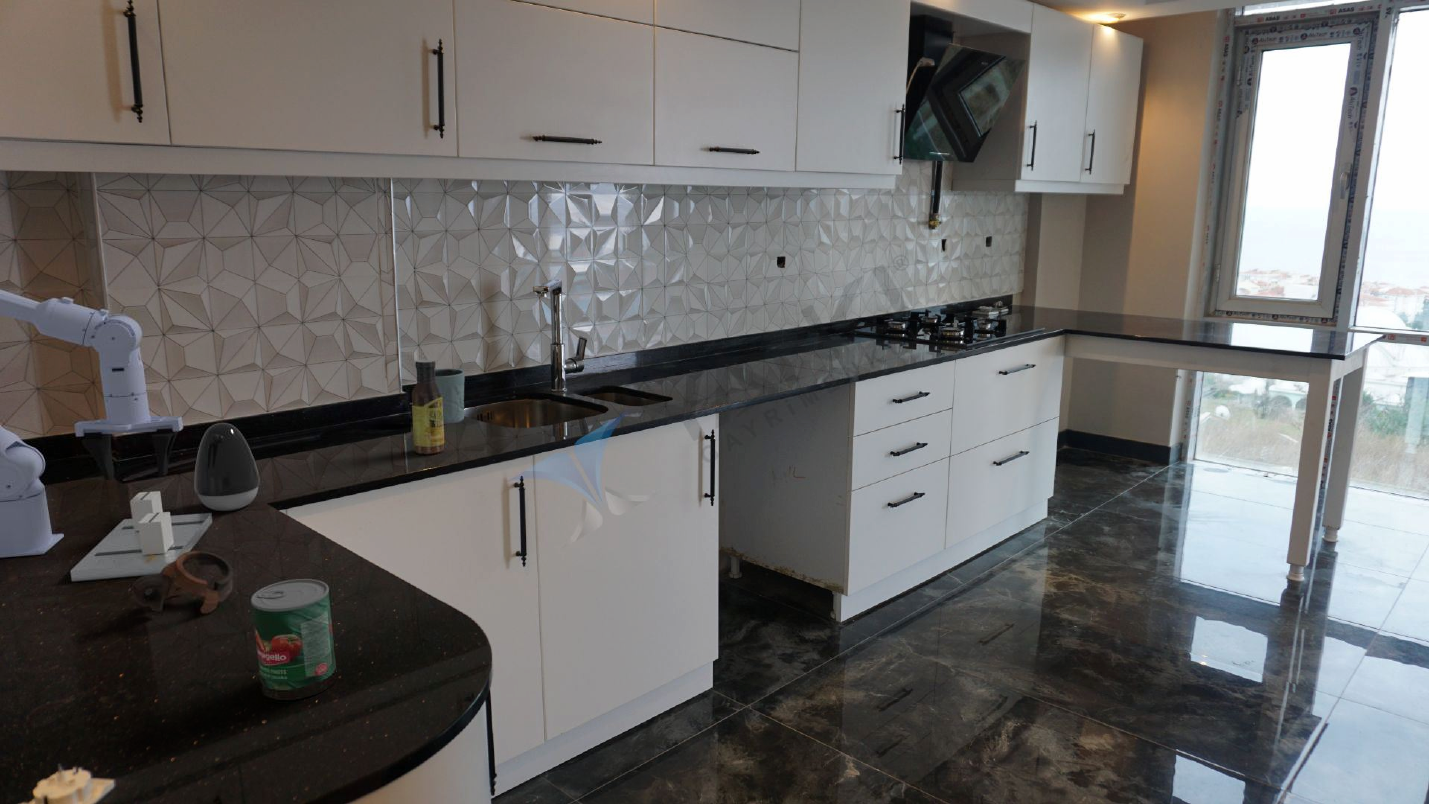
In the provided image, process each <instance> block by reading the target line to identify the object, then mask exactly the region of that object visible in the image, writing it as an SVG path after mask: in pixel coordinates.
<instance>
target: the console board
mask: <svg viewBox="0 0 1429 804" xmlns="http://www.w3.org/2000/svg"><path fill="white" fill-rule="evenodd" d="M170 518H171V525H172V533H173V541H174V543H173V544H172V546H171V547H170V548H169V549H168V550H167V552H166V553H163V554H151V555H142V548H141V541H140V534H139V531H134V526H133V519H132V518H124V519H123V520H122V521H121V522H120V523H119V524H118V525H116V526H115V528H113V529H112V530H111V531H110V532H109V533H108V534H107V535H106V536H105V537H104V538H103V539H102V540H101V541H100V542H99V543H98V544H97V545H96V546H95V547H93V548H92V550H90V552H88V553H87V554H86V555H85V556H84V557H83V558H82V559H81V560H79V562H78V563H77V564H76V565H75V566H74V567H73V568H72V569H71V570H70V577H71V578H70V579H71V582H79V581H81V582H83V581H92V580H103V579H104V580H105V579H114V578H115V579H116V578H127V577H139V576H140V577H141V576H146V575H158V574H159V573H160V572H161V571H162V569H163V568H164V567H166V566H167V565H168V564H170V563H171V562H173V561H176V560H177V558H178V557H179V556H180V555H182V554H183V553H186V552H190V551H191V550H192V549H193V548H194V547H195V546H196V544H197V543H198V541H199V540H200V539H201V537H202V536H203V535H204V533H205V532H206V531H207V530H208V529H209V527H210V526H211V525H212V523H213V516H212V512H208V513H207V512H206V513H193V514H192V513H191V514H180V515H170Z"/></svg>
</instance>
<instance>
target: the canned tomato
mask: <svg viewBox="0 0 1429 804" xmlns="http://www.w3.org/2000/svg"><path fill="white" fill-rule="evenodd" d="M329 589H330V588H329V585H328V584H327V583H325V582H324V581H321V580H318V579H311V578H300V579H299V578H296V579H295V578H294V579H288V580H283V581H278V582H275V583H272V584H269V585H267V586H265V587H262V588H260V589H259V590H257V591H256V592H254V593H253V594H252V596H251V598H250V603H251V607H252V618H253V625H254V634H255V635H254V636H255V644H256V653H257V659H258V660H257V662H258V669H259V678H260V684H261V683H262V684H263V686H264V687H268V688H270V689H275V690H292V689H293V690H294V689H298V688H301V687H307V686H309V685H312V684H315V683H317V682H321V681H323V680H324V679H327V678H328V677H329V676H331V675H332V673H334V671H335V669H336V670H337V666H336V653H335V645H334V644H335V642H334V634H333V626H332V625H333V621H332V614H331V602H330V594H329V592H330V590H329Z"/></svg>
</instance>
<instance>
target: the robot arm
mask: <svg viewBox="0 0 1429 804" xmlns="http://www.w3.org/2000/svg"><path fill="white" fill-rule="evenodd" d="M109 313H110V312H109V310H108V309H104V308H102V309H100V310H96V309H93V308H91V307H86V306H83V305H80V304H79V305H78V304H76V303H74V299H73V298H71V297H67V296H64V297H61V299H59V298H56V297H52V298H50V299H47V300H45V301H42V302H39V301H36V300H33V299H30V298H27V297H24V296H21V295H18V294H16V293H11V292H8V291H5V290H3V289H0V316H3V317H7V318H11V319H16V320H19V321H24V322H28V323H31V324H32V325H33V326H34V327H35V329H36V330H37V331H38V332H39V334H41V335H45V336H47V337H51V338H55V339H58V340H63V341H66V342H69V343H73V344H76V345H80V346H84V347H91V346H92V348H93V349H94V350H95V351H96V352H97V353H98V356H99V357H98V358H99V365H100V366H99V371H100V377H101V378H100V379H101V387H102V392H103V401H104V407H105V408H104V409H105V412H106V413H105V414H106V418H105V419H97V420H88V421H85V420H84V421H79V422H77V423H75V424H74V425H73V426H74V433H75V437H83V439H82V440H81V443H82V446H83V447H84V448H85V449H86V450H87V451H88V452H89V453H90V455H91V456H92V457H93V458H94V460H95V462H96V464H97V466H98V468H99V469H100V471H101V473H102V475H103V478H104V480H105V481H109V480H112V478H114V477H115V469H114V462H113V458H112V457H113V456H112V440H111V439H112V434H130V433H145V432H146V433H148V432H149V433H150V432H151V433H152V432H155V433H153V434H152V435H151V440H152V444H153V447H154V451H155V456H156V465H157V474H158V477H165V476H166V475H167V474H168V472H169V471H168V469H169V460H170V456H171V452H172V449H173V445H174V442H175V440H176V438H177V435H178V433H179V432H180V431H182V430H183V429H184V424H183V417H182V416H153V415H152V416H151V413H150V407H149V399H148V392H147V385H146V378H145V377H146V376H145V369H144V363H143V361H142V352H141V348H140V346H139V344H140V342H141V340H142V338H143V330H142V328H141V326H140V324H139V323H138V322H137V321H136V320H135V319H133V318H131V317H129V316H127V315H126V314H124V313H115V314H112V315H111V314H110V315H109ZM45 468H46V460H45V458H44V455H43V454H42V453H41V452H40V451H39V450H38V449H37V448H36V447H33V446H31V445H28V443H25V442H24V441H23V440H22V439H21V438H20V437H19V436H18V435H17V434H16V433H14V432H12V431H9V430H8V429H5V428H4V427H2V425H1V424H0V558H11V557H24V556H26V557H27V556H36V555H38V556H39V555H44V554H45V553H46V552H48V551H49V550H50V549H51V548H52V547H54V546H55V545H56V544H57V543H58V542H60V540H62V538H64V533H52V525H51V520H50V514H49V513H50V511H49V509H48V500H47V494H46V489H45V485H44V484H43V483H42V482H41V480H40V477H41V476H42V474H43V473H44V472H45Z"/></svg>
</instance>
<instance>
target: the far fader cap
mask: <svg viewBox="0 0 1429 804" xmlns="http://www.w3.org/2000/svg"><path fill="white" fill-rule="evenodd" d="M129 502H130V511H131V517H132V518H131V519H133V526H134V531H139V527H138V523H139V522H140V521H141V520H142V519H143V518H144V517H145V516H146V515H147V514H148V513H158V512H159V513H162V512H164V510H163V505H162V497H161V491H160V490H158V491H144V492H142V491H141V492H138V493H137V494H136V495H135V496H134V497H133V498H131V500H129Z"/></svg>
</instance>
